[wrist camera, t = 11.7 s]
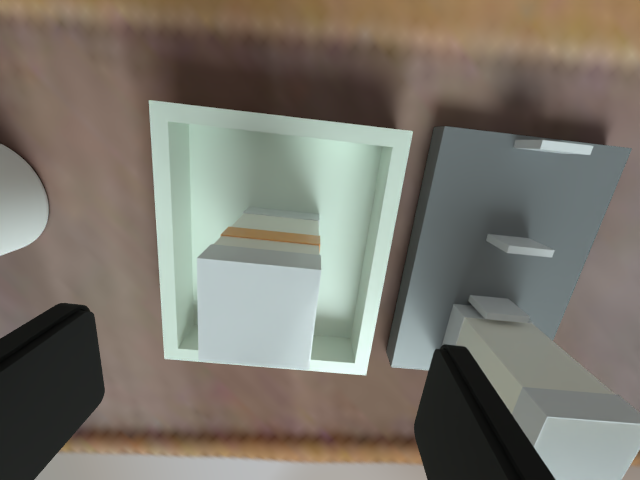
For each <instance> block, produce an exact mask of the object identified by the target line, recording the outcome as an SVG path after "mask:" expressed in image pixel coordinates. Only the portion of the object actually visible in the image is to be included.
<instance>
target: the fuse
mask: <svg viewBox="0 0 640 480" xmlns="http://www.w3.org/2000/svg"><path fill="white" fill-rule="evenodd" d="M444 344H447V345H456V346H464V347H466V348H467V349H468V350H469V351H470V353H471V354H472V356H473V357H474V359H475V360H476V362H477V363H478V365H479V366H480V368H481V369H482V371H483V372H484V374H485V375H486V377H487V378H488V380H489V381H490V383H491V384H492V386H493V387H494V389H495V390H496V392H497V393H498V395H499V396H500V398H501V399H502V401H503V402H504V403H505V405H506V406H507V408H508V409H509V411H510V412H511V414H512V415H513V417H514V418H515V420H516V421H517V423H518V424H519V426H520V427H521V429H522V430H523V432H524V433H525V435H526V436H527V438H528V439H529V441H530V442H531V444H532V445H533V447H534V448H535V450H536V451H537V453H538V454H539V456H540V457H541V459H542V460H543V461H544V463H545V464H546V466H547V467H548V469H549V470H550V472H551V473H552V475H553V476H554V478H555V479H556V480H622V478H623V476H624V475H625V473H626V471H627V469H628V468H629V466H630V464H631V463H632V461H633V459H634V458H635V456H636V454H637V453H638V451H639V449H640V413H639V412H638V411H637V410H636V409H635V408H633V407H632V406H631V405H630V404H629V403H627V402H626V401H625V400H624V399H623V398H622V397H620V396H619V395H615V394H614V393H613V392H612V391H611V390H609V389H608V388H607V387H606V386H605V385H604V384H602V383H601V382H600V381H599V380H598V379H597V378H595V377H594V376H593V375H592V374H591V373H590V372H588V371H587V370H586V369H585V368H584V367H583V366H581V365H580V364H579V363H578V362H577V361H576V360H574V359H573V358H572V357H571V356H570V355H569V354H567V353H566V352H565V351H564V350H563V349H562V348H560V347H559V346H558V345H557V344H556V343H554V342H553V341H552V340H551V339H550V338H549V337H547V336H546V335H545V334H544V333H543V332H542V331H540V330H539V329H538V328H537V327H536V326H535V325H533V322H532V321H531V320H529V321H528V323H522V322H511V321H500V320H489V319H485V318H484V317H483V316H482V315H481V314H480V313H479V312H478V311H477V310H476V309H475V307H474V306H471V305H460V304H453V307H452V311H451V315H450V318H449V322H448V325H447V329H446V333H445V336H444V340H443V343H442V345H444Z"/></svg>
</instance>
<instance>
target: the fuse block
mask: <svg viewBox="0 0 640 480" xmlns="http://www.w3.org/2000/svg"><path fill="white" fill-rule="evenodd" d="M631 149H632V148H624V147H616V146H607V145H599V144H591V143H582V142H574V141H565V140H557V139H549V138H540V137H532V136H523V135H515V134H507V133H498V132H490V131H482V130H473V129H465V128H456V127H448V126H441V127H434V129H433V134H432V139H431V144H430V148H429V153H428V158H427V162H426V167H425V172H424V177H423V181H422V186H421V191H420V195H419V200H418V205H417V210H416V214H415V219H414V224H413V228H412V233H411V238H410V243H409V247H408V252H407V257H406V261H405V266H404V271H403V276H402V280H401V285H400V290H399V294H398V299H397V304H396V309H395V313H394V318H393V323H392V327H391V332H390V337H389V341H388V346H387V351H386V353H387V356H388V359H389V362H390V365H391V367H396V368H409V369H421V370H429V368H430V364H431V360H432V357H433V353H434V351H435V349H440V348H441V346H442V343H443V340H444V336H445V333H446V329H447V325H448V322H449V318H450V315H451V311H452V307H453V304H460V305H471V306H474V307H475V309H476V310H477V311H478V312H479V313H480V314H481V315H482V316H483V317H484V318H485V319H489V320H500V321H511V322H522V323H528V321H529V320H531V321H532V322H533V325H535V326H536V327H537V328H538V329H539V330H540V331H542V332H543V333H544V334H545V335H546V336H547V337H549V338H550V339H551V340H552V341H553V339H554V337H555V334H556V332H557V329H558V327H559V325H560V322H561V320H562V317H563V315H564V312H565V310H566V308H567V305H568V303H569V300H570V298H571V295H572V293H573V291H574V288H575V286H576V283H577V281H578V278H579V276H580V273H581V271H582V269H583V266H584V264H585V261H586V259H587V256H588V254H589V252H590V249H591V247H592V244H593V242H594V239H595V237H596V235H597V232H598V230H599V227H600V225H601V222H602V220H603V218H604V215H605V213H606V210H607V208H608V205H609V203H610V201H611V198H612V196H613V193H614V191H615V188H616V186H617V184H618V181H619V179H620V176H621V174H622V171H623V169H624V167H625V164H626V162H627V159H628V157H629V154H630V152H631Z"/></svg>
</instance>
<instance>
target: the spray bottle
mask: <svg viewBox="0 0 640 480" xmlns="http://www.w3.org/2000/svg"><path fill="white" fill-rule="evenodd" d="M48 215H49V205H48V199H47V195H46V192H45V189H44V187H43V185H42V183H41V181H40V179H39V177H38V176H37V174H36V173H35V171H34V170H33V169H32V168H31V166H30V165H29V164H28V163H27V162H26V161H25V160H24V159H23V158H22V157H20V156H19V155H18V154H17V153H15V152H14V151H12V150H11V149H9V148H8V147H6V146H4V145H2V144H0V256H1V255H4V254H6V253H9V252H12V251H15V250H17V249H20V248H23V247H25V246H27V245H29V244H30V243H32V242H33V241H35V240H36V239H37V238H38V237H39V236H40V235H41V233H42V232H43V230H44V229H45V226H46V224H47V220H48Z"/></svg>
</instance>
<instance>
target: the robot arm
mask: <svg viewBox="0 0 640 480" xmlns="http://www.w3.org/2000/svg"><path fill="white" fill-rule="evenodd" d="M104 392H105V388H104V381H103V374H102V367H101V360H100V352H99V345H98V338H97V331H96V324H95V317H94V314H93V313H92V312H90V310H89V308H88V307H87V306H85V305H78V304H68V303H60V304H57V305H55V306H54V307H52V308H50V309H49V310H47V311H45V312H44V313H42V314H40V315H39V316H37V317H36V318H34V319H32V320H31V321H29V322H27V323H26V324H24V325H22V326H21V327H19V328H17V329H16V330H14V331H12V332H11V333H9V334H7V335H6V336H4V337H2V338H1V339H0V480H34V479H35V478H36V477H37V476H38V474H39V473H40V472H41V471H42V470H43V469H44V468H45V467H46V465H47V464H48V463H49V462H50V461H51V460H52V458H53V457H54V456H55V455H56V454H57V453H58V452H59V450H60V449H61V448H62V447H63V446H64V445H65V443H66V442H67V441H68V440H69V439H70V438H71V437H72V435H73V434H74V433H75V432H76V431H77V430H78V428H79V427H80V426H81V425H82V424H83V423H84V422H85V420H86V419H87V418H88V417H89V416H90V415H91V413H92V412H93V411H94V410H95V409H96V408H97V407H98V405H99V404H100V403H101V401H102V399H103V396H104ZM414 433H415V438H416V442H417V445H418V449H419V452H420V455H421V459H422V462H423V466H424V469H425V472H426V476H427V479H428V480H556V479H555V478H554V476H553V475H552V473H551V472H550V470H549V469H548V467H547V466H546V464H545V463H544V461H543V460H542V459H541V457H540V456H539V454H538V453H537V451H536V450H535V448H534V447H533V445H532V444H531V442H530V441H529V439H528V438H527V436H526V435H525V433H524V432H523V430H522V429H521V427H520V426H519V424H518V423H517V421H516V420H515V418H514V417H513V415H512V414H511V412H510V411H509V409H508V408H507V406H506V405H505V403H504V402H503V401H502V399H501V398H500V396H499V395H498V393H497V392H496V390H495V389H494V387H493V386H492V384H491V383H490V381H489V380H488V378H487V377H486V375H485V374H484V372H483V371H482V369H481V368H480V366H479V365H478V363H477V362H476V360H475V359H474V357H473V356H472V354H471V353H470V351H469V350H468V349H467V348H466V347H464V346H456V345H447V344H444V345H442V346H441V348H440V349H435V351H434V353H433V357H432V360H431V364H430V368H429V371H428V375H427V379H426V382H425V386H424V390H423V393H422V397H421V401H420V405H419V408H418V412H417V416H416V419H415V424H414Z"/></svg>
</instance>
